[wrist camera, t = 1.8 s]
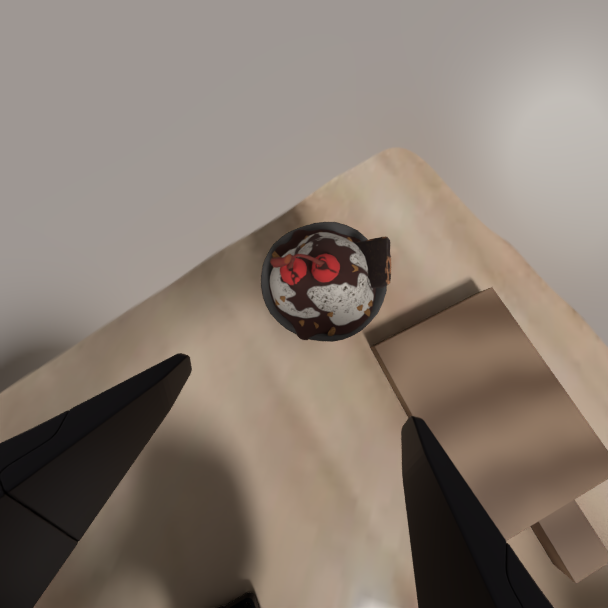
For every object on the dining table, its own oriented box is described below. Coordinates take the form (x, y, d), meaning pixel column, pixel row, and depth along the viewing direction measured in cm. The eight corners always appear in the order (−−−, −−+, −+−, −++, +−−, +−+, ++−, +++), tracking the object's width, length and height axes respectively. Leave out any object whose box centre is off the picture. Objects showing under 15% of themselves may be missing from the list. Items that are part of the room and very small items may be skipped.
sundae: (270, 331, 22) (190, 278, 7) (300, 270, 23) (284, 118, 8) (335, 360, 21) (394, 372, 6) (362, 296, 22) (463, 179, 8)
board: (633, 514, 18) (662, 528, 16) (504, 594, 17) (523, 617, 15) (479, 291, 22) (492, 287, 21) (370, 347, 21) (374, 346, 20)
